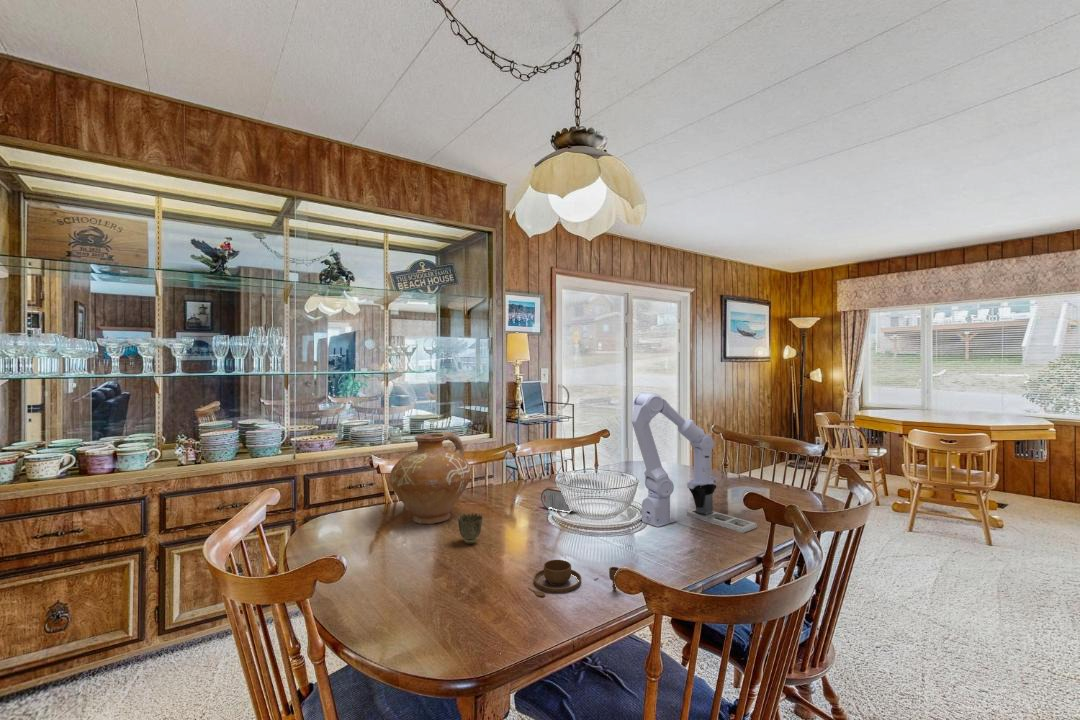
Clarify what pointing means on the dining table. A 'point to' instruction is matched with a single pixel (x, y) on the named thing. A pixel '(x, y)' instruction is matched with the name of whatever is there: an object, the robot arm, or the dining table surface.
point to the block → (706, 504)
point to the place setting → (562, 577)
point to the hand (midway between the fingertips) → (702, 505)
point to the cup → (470, 527)
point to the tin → (554, 499)
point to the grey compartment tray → (727, 524)
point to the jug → (431, 477)
